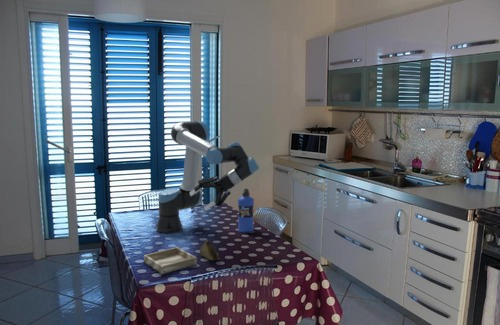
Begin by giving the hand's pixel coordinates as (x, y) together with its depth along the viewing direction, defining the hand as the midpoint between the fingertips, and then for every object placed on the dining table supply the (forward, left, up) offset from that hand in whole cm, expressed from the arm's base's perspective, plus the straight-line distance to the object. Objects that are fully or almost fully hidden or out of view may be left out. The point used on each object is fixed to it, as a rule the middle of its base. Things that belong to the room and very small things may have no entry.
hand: (197, 202), depth 218 cm
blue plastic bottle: (+7, +37, -24) cm, 45 cm away
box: (+3, -25, -24) cm, 35 cm away
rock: (+14, -9, -24) cm, 29 cm away
